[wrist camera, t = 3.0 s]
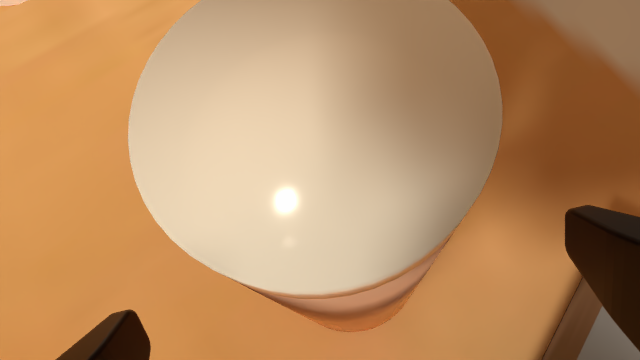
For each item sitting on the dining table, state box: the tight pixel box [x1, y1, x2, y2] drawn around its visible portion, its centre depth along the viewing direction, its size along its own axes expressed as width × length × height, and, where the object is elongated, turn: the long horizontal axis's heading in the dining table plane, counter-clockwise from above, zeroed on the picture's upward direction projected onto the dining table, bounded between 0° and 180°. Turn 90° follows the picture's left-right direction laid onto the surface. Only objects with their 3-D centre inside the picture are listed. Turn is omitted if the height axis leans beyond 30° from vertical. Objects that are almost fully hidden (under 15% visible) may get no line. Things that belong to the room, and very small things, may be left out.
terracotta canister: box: [128, 0, 502, 332], centre depth 13 cm, size 6×6×13 cm
